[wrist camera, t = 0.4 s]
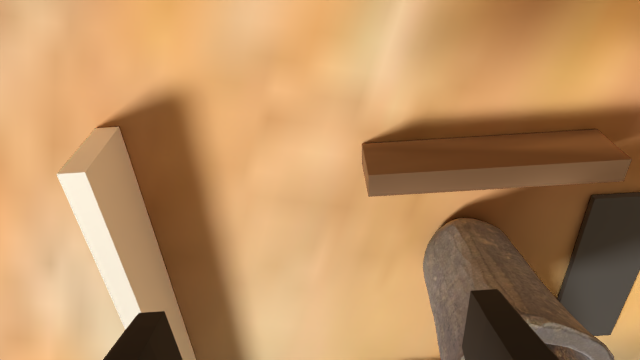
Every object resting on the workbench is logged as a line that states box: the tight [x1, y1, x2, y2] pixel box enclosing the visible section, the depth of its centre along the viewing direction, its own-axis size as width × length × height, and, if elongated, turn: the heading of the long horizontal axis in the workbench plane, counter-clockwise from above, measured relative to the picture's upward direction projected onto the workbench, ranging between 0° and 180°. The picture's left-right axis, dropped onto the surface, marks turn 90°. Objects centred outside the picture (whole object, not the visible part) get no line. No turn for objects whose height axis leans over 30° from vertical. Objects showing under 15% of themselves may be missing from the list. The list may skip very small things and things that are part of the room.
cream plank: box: [57, 127, 196, 360], centre depth 23 cm, size 20×1×4 cm, turn 3°
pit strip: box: [557, 192, 640, 336], centre depth 24 cm, size 10×4×1 cm, turn 3°
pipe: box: [423, 218, 614, 360], centre depth 21 cm, size 6×13×8 cm, turn 22°
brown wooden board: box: [362, 129, 632, 197], centre depth 23 cm, size 17×10×2 cm, turn 3°
